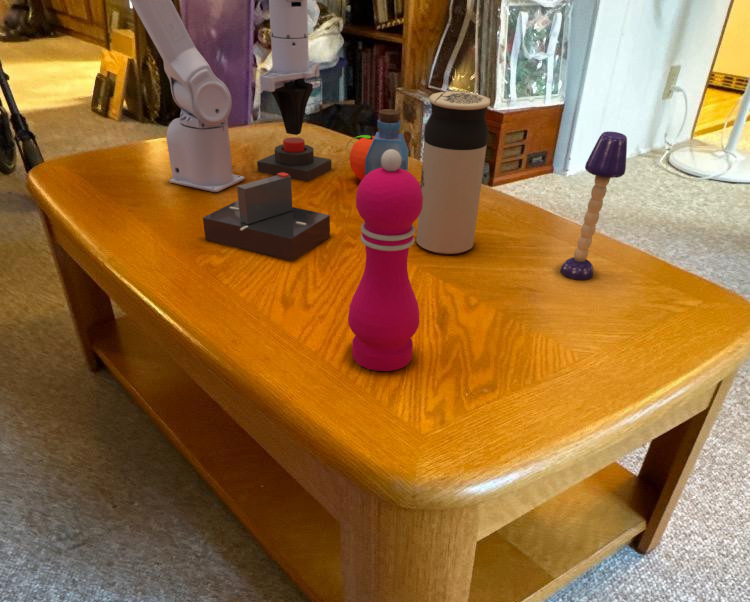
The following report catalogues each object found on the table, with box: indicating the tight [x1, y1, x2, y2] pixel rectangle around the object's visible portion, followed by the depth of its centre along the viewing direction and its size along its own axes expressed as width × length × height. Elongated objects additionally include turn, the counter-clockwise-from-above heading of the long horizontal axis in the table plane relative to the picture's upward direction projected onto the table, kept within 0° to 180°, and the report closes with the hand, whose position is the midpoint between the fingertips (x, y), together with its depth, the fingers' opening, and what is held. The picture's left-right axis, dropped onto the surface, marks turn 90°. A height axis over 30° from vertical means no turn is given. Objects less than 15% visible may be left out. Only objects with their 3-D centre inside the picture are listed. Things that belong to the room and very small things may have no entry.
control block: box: [256, 144, 332, 183], centre depth 116 cm, size 10×8×4 cm
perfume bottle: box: [365, 108, 410, 176], centre depth 105 cm, size 6×6×12 cm
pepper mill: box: [347, 149, 423, 372], centre depth 65 cm, size 7×7×20 cm
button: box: [282, 136, 306, 153], centre depth 114 cm, size 4×4×2 cm
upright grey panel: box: [236, 172, 293, 224], centre depth 91 cm, size 8×2×5 cm, turn 138°
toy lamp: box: [560, 131, 628, 281], centre depth 83 cm, size 5×5×17 cm
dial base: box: [202, 200, 331, 262], centre depth 93 cm, size 14×12×3 cm
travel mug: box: [415, 91, 491, 255], centre depth 89 cm, size 8×8×18 cm
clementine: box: [345, 134, 375, 181], centre depth 112 cm, size 8×7×7 cm
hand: (293, 133), depth 113 cm, fingers closed
